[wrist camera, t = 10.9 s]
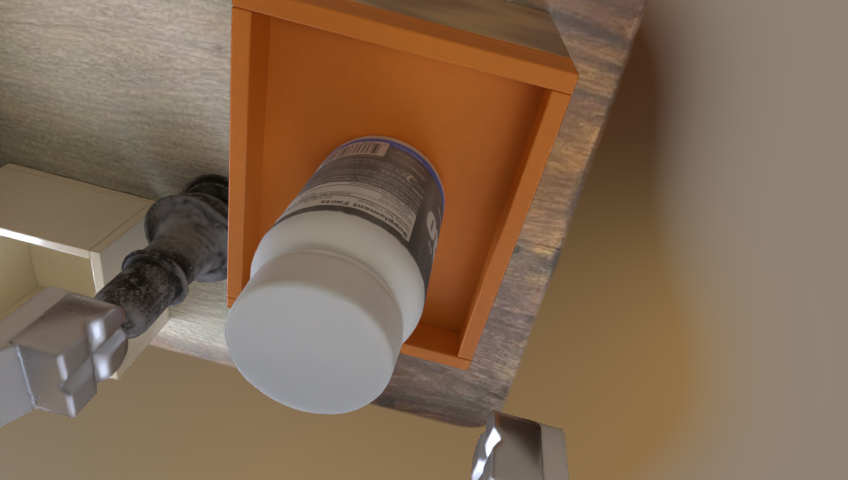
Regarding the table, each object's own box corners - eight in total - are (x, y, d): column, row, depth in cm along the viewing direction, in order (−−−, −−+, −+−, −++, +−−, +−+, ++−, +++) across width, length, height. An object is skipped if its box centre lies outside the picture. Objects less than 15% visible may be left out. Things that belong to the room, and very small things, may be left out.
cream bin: (162, 202, 33) (99, 253, 28) (169, 319, 39) (117, 380, 34) (9, 162, 33) (-82, 205, 28) (37, 284, 39) (-35, 340, 34)
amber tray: (571, 58, 16) (580, 74, 14) (470, 336, 23) (467, 371, 21) (261, -24, 16) (231, -17, 14) (248, 277, 23) (226, 307, 21)
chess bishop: (280, 203, 32) (175, 332, 22) (246, 266, 35) (140, 405, 25) (193, 152, 31) (40, 261, 21) (165, 221, 34) (20, 346, 24)
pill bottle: (419, 267, 20) (371, 451, 13) (305, 221, 20) (192, 385, 13) (468, 163, 18) (441, 322, 11) (339, 109, 17) (223, 236, 10)
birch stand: (549, 12, 25) (571, 58, 16) (480, 223, 31) (470, 336, 23) (346, -41, 25) (261, -24, 16) (319, 181, 31) (248, 277, 23)
